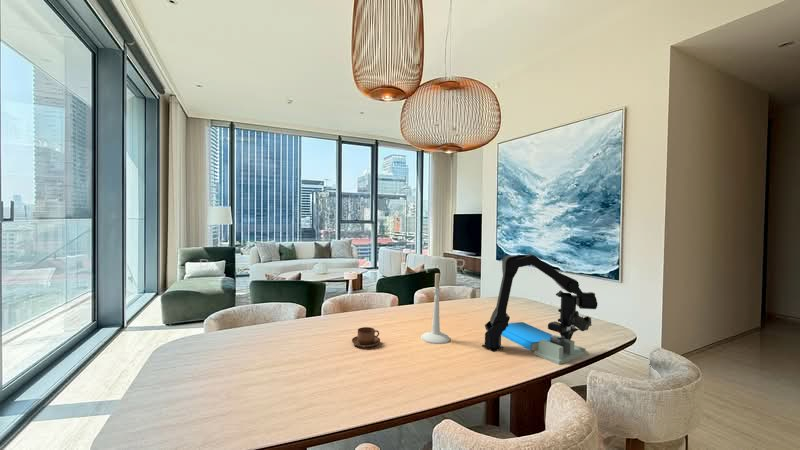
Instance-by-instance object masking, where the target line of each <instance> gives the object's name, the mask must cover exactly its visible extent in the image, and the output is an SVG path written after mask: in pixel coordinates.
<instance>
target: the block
mask: <svg viewBox="0 0 800 450" xmlns="http://www.w3.org/2000/svg"><path fill="white" fill-rule="evenodd" d="M557 336H558V335H557ZM557 336H552V337H550V342H551V343H554V344H557V345H560V346H562V347H564V339H563V338H560V337H561V336H560V337H557ZM563 351H564V350H563Z"/></svg>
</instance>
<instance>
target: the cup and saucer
mask: <svg viewBox="0 0 800 450" xmlns="http://www.w3.org/2000/svg"><path fill="white" fill-rule="evenodd" d="M375 333H377V335H375ZM379 335H380V332H379V330H377V329H375V328H373V327H369V326H366V327H365V326H364V327H360V328H358V329H357V336H354V337H353V338H351V342H352V344H354V345H355V346H356V347H362V348H370V347H374V346H377V345H378V344H379V343H380V342H381V338H379Z"/></svg>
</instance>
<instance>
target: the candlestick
mask: <svg viewBox="0 0 800 450" xmlns="http://www.w3.org/2000/svg"><path fill="white" fill-rule="evenodd" d="M440 275H441V274H440V273H438V272H437V273H434V287H433V293H434V296H433V297H434V298H433V299H434V300H433V310H432V311H433V313H432V324H431V331H427V332H425V333H423V334H422V335H421V336H420V338H421V340H422V341H423V342H425V343H427V344H428V343H429V344H433V345H442V344H443V345H444V344H447V343H449V342H450V339H451V338H450V336H449V335H448V334H447V333H444V332H442V331H440V330H441V328H440V322H441V321H440V296H439V295H440V293H441V290H442V288H440Z"/></svg>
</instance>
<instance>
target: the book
mask: <svg viewBox="0 0 800 450" xmlns="http://www.w3.org/2000/svg"><path fill="white" fill-rule="evenodd" d="M553 335H554V334H552V333H550V332H547V331H544V330H543V329H540V328H537V327H535V326H532V325H531V324H528V323H526V322H524V321H518V322H510V323H509V322H508V327H506V330H505V331H503V332H502V334H501V337H503V338H506V339H508V340H510V341H511V342H514V343H515V344H517V345H519V346H522V347H524V348H525V349H526V350H529V351H533V352H534V351H536V350H539V340H542V339H543V340H546V341H549V342H550V337H551V336H553Z"/></svg>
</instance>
